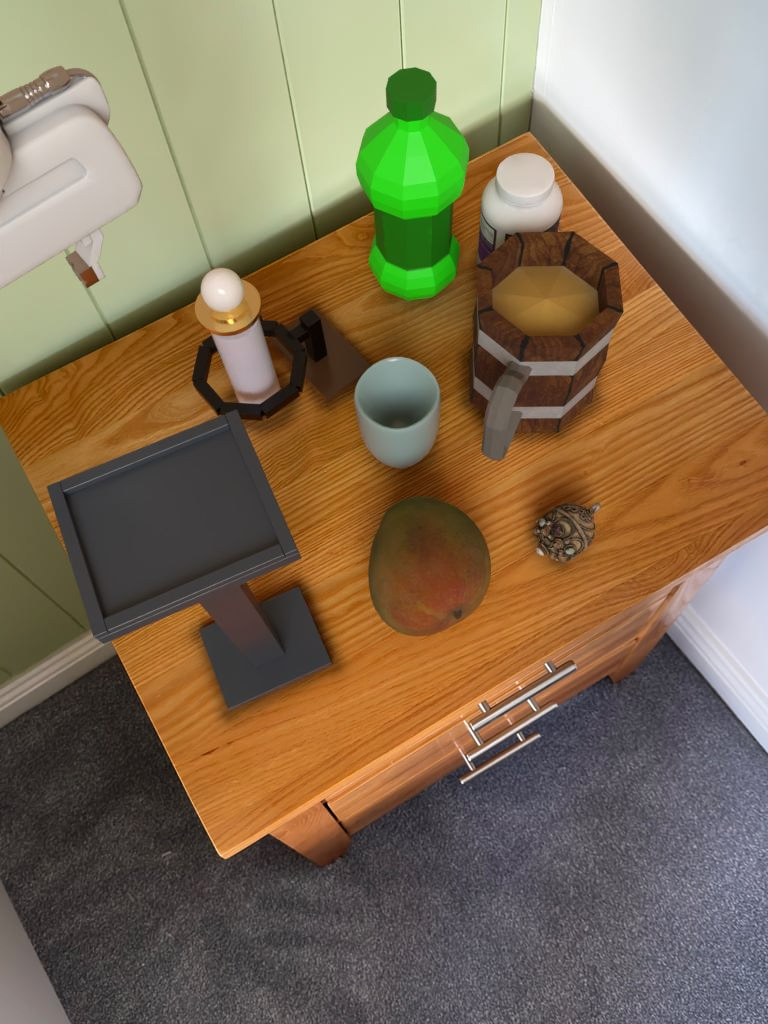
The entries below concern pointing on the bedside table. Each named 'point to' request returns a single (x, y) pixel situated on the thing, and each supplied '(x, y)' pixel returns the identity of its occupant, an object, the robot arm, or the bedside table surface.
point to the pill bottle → (518, 201)
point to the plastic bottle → (413, 188)
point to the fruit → (427, 566)
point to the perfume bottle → (237, 333)
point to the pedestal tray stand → (191, 553)
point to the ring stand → (312, 359)
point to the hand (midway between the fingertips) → (30, 315)
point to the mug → (540, 333)
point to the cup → (398, 411)
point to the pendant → (565, 531)
